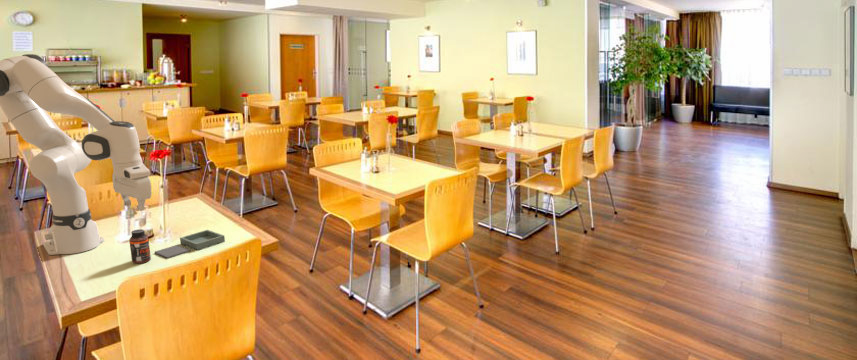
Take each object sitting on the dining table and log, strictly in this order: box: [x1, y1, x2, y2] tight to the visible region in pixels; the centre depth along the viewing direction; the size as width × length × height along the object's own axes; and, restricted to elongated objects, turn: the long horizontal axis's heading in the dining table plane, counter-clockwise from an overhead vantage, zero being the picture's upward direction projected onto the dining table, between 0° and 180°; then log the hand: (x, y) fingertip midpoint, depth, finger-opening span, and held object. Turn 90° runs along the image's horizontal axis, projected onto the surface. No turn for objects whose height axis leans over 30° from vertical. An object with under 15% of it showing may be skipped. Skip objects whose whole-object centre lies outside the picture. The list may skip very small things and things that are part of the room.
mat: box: [154, 244, 192, 260], centre depth 196 cm, size 9×9×1 cm
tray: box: [179, 229, 226, 251], centre depth 206 cm, size 12×12×2 cm
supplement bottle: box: [129, 228, 152, 265], centre depth 187 cm, size 6×6×11 cm
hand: (134, 207), depth 184 cm, fingers open, 8 cm apart
